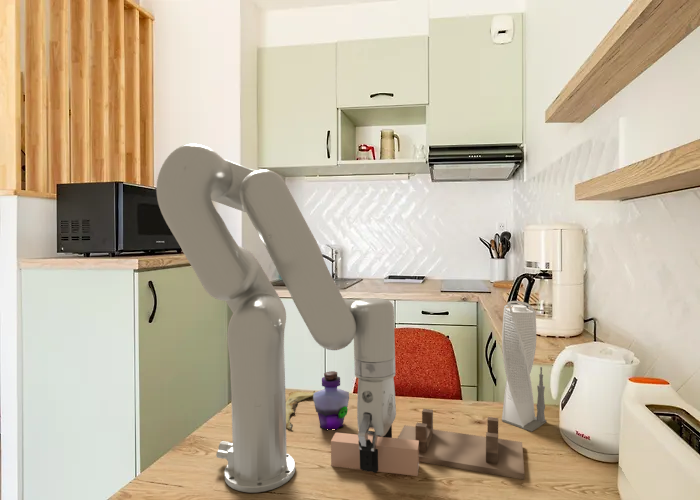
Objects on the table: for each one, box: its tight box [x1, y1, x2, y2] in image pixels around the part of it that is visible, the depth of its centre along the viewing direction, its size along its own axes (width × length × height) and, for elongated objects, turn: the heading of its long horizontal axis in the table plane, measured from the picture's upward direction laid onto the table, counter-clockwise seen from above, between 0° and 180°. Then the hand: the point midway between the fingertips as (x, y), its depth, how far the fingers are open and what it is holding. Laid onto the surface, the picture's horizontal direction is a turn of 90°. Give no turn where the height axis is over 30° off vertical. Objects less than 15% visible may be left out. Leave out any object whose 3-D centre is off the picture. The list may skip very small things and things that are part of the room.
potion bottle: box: [312, 370, 350, 432], centre depth 98 cm, size 9×9×12 cm
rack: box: [397, 408, 525, 480], centre depth 86 cm, size 24×12×6 cm, turn 70°
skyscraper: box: [501, 300, 547, 432], centre depth 98 cm, size 8×8×28 cm
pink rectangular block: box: [330, 432, 420, 477], centre depth 81 cm, size 16×4×5 cm, turn 77°
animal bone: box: [286, 390, 316, 431], centre depth 106 cm, size 21×2×10 cm
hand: (377, 456), depth 81 cm, fingers open, 9 cm apart
